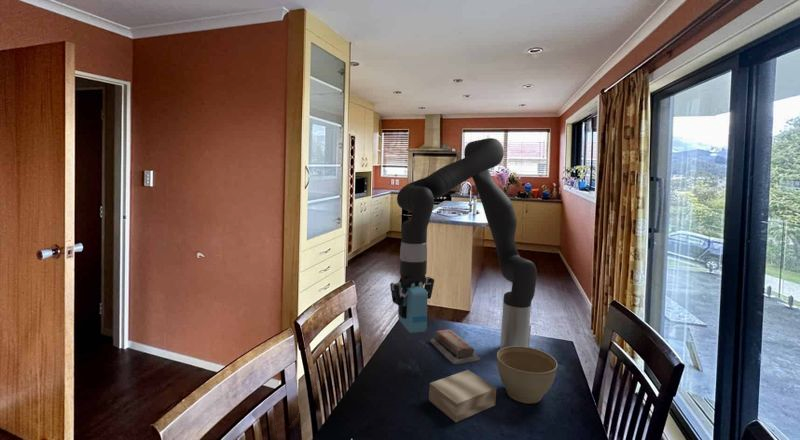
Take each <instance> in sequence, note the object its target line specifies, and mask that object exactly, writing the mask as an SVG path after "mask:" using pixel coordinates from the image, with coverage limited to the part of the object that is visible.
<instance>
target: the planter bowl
mask: <svg viewBox="0 0 800 440" xmlns="http://www.w3.org/2000/svg"><path fill="white" fill-rule="evenodd" d="M496 359H497V371H498V375H499V378H500V381H501V383H502V385H503V386H504V388H505V389H506V394H507V395H508V396H509V397H510V399H513V400H515V401H517V402H519V403H523V404H536V403H539V402H540V401H541V400H542V398H543V396H544V395H546V393H547V392H548V391H549V390H550V388H551V387H552V385H553V383H554V380H555V377H556V374H557V373H556V372H557V370H558V361H557V360H556V358H555V357H553V355H551V354H549V353H547V352H545V351H544V350H541V349H537V348H533V347H530V346H529V347H523V346H510V347H505V348H502V349H500V348H499V350H498V351H497V353H496Z"/></svg>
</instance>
